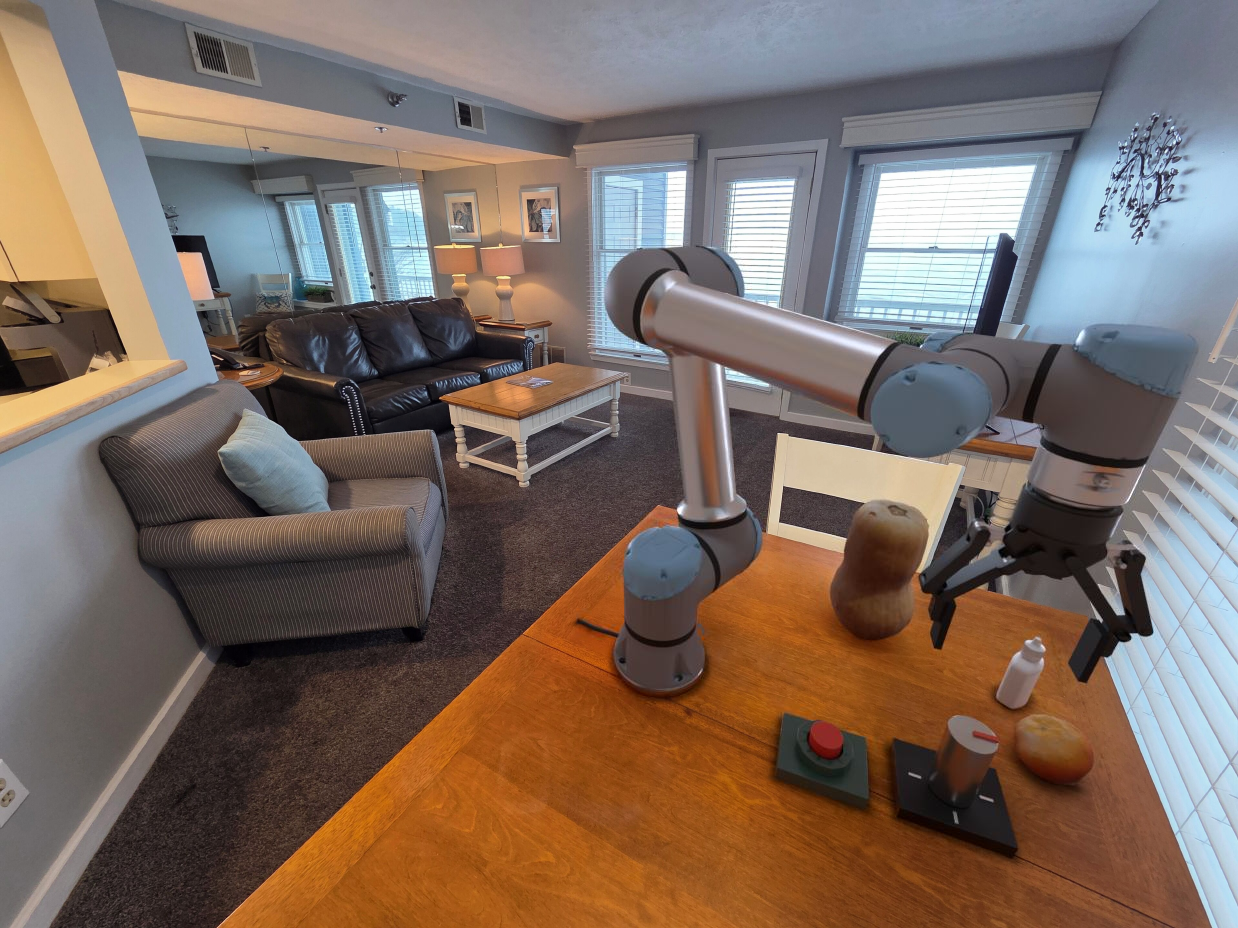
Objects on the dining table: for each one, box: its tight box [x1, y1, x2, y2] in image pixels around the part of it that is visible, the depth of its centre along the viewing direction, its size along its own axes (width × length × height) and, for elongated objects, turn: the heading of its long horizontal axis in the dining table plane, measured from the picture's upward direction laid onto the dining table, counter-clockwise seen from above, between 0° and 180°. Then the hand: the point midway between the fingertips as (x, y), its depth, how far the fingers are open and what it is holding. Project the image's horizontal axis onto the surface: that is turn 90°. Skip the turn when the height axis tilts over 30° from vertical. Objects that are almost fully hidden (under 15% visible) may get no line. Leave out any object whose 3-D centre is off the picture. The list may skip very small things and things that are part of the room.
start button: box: [809, 720, 843, 759], centre depth 66 cm, size 4×4×2 cm
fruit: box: [1013, 713, 1095, 787], centre depth 66 cm, size 8×8×8 cm
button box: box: [774, 711, 870, 811], centre depth 67 cm, size 11×9×4 cm
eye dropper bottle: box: [995, 636, 1046, 710], centre depth 75 cm, size 4×6×12 cm
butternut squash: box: [829, 498, 930, 642], centre depth 86 cm, size 14×13×25 cm
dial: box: [927, 715, 1000, 808], centre depth 61 cm, size 5×5×10 cm
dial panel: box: [889, 737, 1019, 859], centre depth 63 cm, size 12×10×2 cm
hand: (1003, 656), depth 57 cm, fingers open, 13 cm apart
